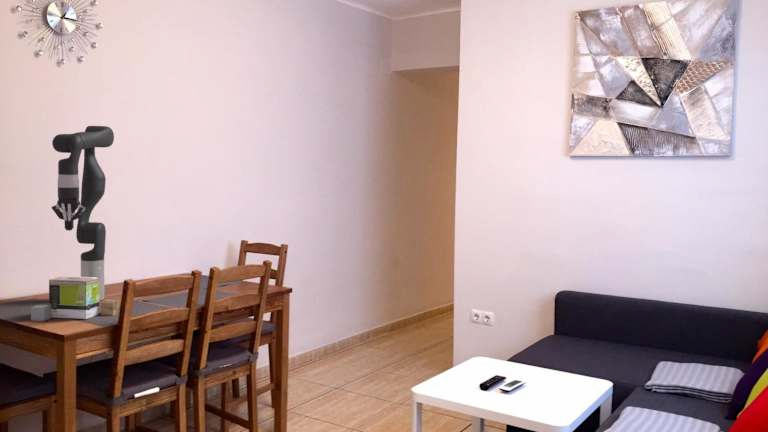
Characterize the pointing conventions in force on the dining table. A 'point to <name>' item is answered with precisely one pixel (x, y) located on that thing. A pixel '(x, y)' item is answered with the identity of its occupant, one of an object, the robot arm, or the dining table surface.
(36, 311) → the slate block
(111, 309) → the brown box
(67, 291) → the tea box
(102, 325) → the dining table surface
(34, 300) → the dining table surface
